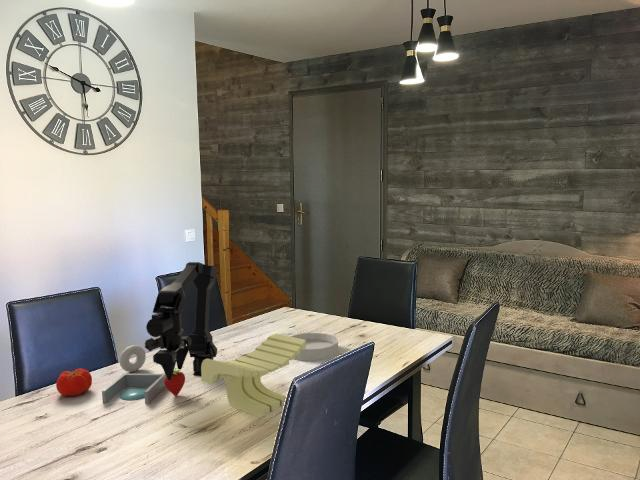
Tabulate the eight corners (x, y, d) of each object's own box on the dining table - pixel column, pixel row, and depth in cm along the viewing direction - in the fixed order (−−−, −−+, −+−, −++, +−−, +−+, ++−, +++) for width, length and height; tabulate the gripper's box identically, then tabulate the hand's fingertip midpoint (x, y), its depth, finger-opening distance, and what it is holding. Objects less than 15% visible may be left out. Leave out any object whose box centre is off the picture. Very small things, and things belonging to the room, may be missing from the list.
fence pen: (166, 385, 178) (165, 374, 177) (148, 403, 163) (147, 391, 162) (124, 384, 179) (123, 373, 179) (102, 403, 164) (101, 391, 164)
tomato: (54, 401, 166) (52, 379, 165) (61, 388, 177) (59, 367, 176) (90, 397, 169) (88, 375, 168) (95, 384, 180) (93, 364, 179)
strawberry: (160, 398, 167) (158, 368, 166) (176, 390, 173) (175, 361, 172) (174, 401, 164) (173, 371, 163) (190, 392, 171) (188, 363, 170)
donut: (123, 376, 187) (121, 349, 186) (118, 374, 189) (116, 347, 188) (148, 368, 194) (146, 343, 193) (143, 366, 197) (142, 341, 195)
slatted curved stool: (271, 382, 179) (269, 332, 177) (306, 392, 169) (305, 339, 167) (203, 413, 155) (200, 356, 153) (240, 428, 146) (238, 367, 144)
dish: (340, 344, 220) (340, 333, 219) (336, 362, 198) (336, 349, 197) (288, 343, 222) (288, 332, 221) (279, 361, 200) (279, 349, 199)
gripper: (159, 319, 176) (161, 363, 178) (135, 336, 158) (138, 385, 160) (191, 320, 175) (193, 364, 177) (170, 336, 157) (173, 385, 159)
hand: (174, 374), depth 168 cm, fingers open, 9 cm apart
